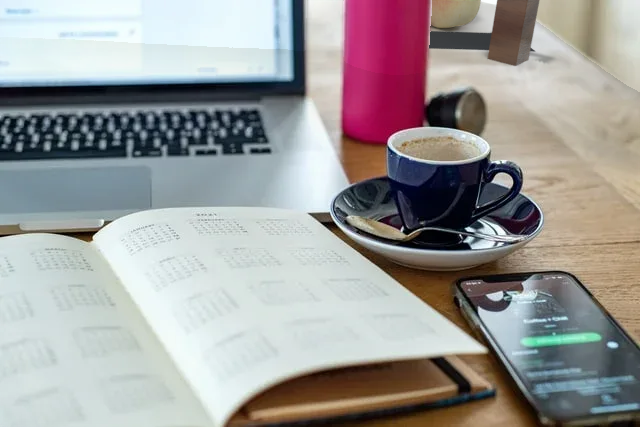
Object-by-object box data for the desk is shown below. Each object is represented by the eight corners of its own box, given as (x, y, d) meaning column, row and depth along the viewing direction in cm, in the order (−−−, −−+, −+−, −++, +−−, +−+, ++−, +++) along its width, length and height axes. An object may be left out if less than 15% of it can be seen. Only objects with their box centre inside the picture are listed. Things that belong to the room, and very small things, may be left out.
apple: (408, 26, 132) (414, -28, 129) (434, 16, 139) (441, -36, 136) (460, 38, 128) (469, -17, 125) (485, 27, 135) (494, -25, 132)
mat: (512, 38, 131) (513, 33, 130) (535, 56, 123) (536, 51, 122) (408, 35, 128) (408, 30, 127) (424, 53, 120) (425, 48, 120)
